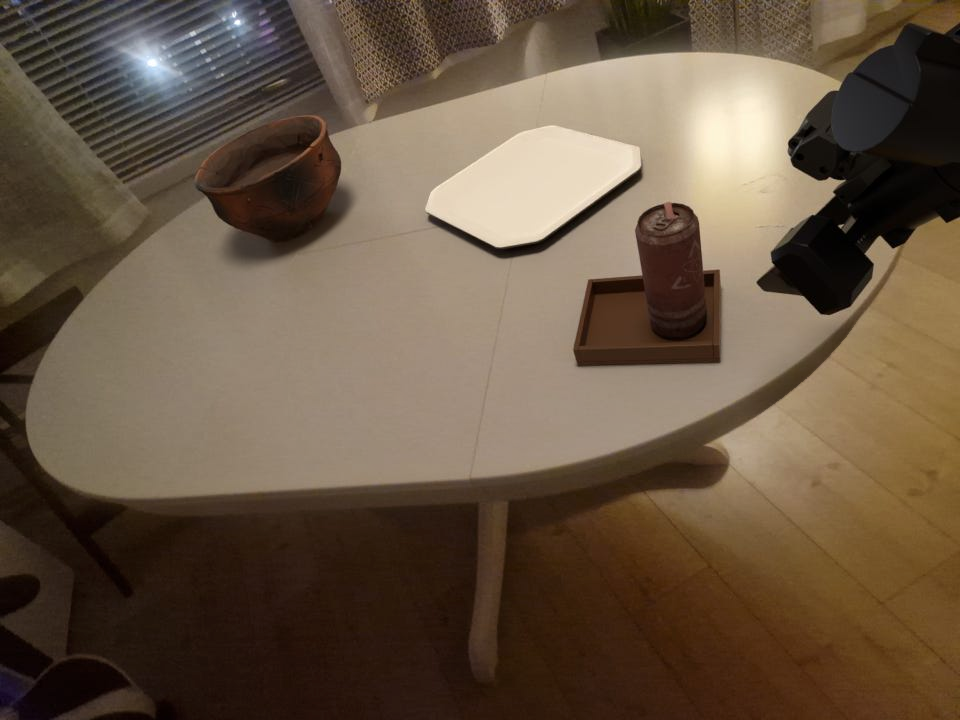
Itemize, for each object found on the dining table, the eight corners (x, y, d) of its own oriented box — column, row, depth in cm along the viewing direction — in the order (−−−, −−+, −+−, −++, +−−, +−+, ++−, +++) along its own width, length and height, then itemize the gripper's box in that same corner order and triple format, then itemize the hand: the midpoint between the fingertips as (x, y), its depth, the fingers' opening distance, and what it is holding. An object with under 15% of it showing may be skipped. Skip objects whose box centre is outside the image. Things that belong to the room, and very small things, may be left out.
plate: (415, 213, 110) (410, 202, 109) (540, 130, 118) (537, 119, 116) (520, 268, 90) (516, 256, 88) (663, 164, 98) (661, 150, 96)
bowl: (370, 225, 112) (331, 145, 102) (239, 281, 112) (187, 207, 102) (352, 170, 131) (318, 98, 121) (240, 218, 131) (196, 151, 121)
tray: (720, 286, 76) (719, 269, 74) (720, 362, 68) (718, 344, 66) (591, 295, 81) (588, 279, 80) (577, 365, 73) (572, 349, 72)
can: (702, 298, 74) (692, 193, 65) (711, 336, 70) (702, 228, 60) (648, 307, 76) (631, 206, 67) (653, 345, 71) (636, 241, 62)
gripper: (934, 2, 45) (778, 132, 60) (803, 139, 38) (662, 248, 53) (1044, 118, 45) (861, 220, 60) (933, 276, 38) (756, 348, 53)
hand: (788, 254), depth 56 cm, fingers open, 9 cm apart
